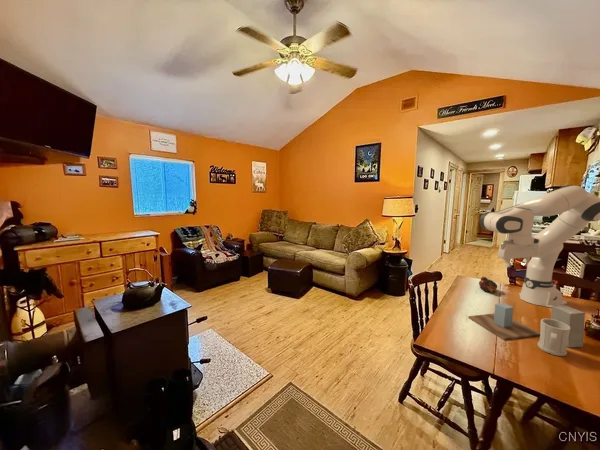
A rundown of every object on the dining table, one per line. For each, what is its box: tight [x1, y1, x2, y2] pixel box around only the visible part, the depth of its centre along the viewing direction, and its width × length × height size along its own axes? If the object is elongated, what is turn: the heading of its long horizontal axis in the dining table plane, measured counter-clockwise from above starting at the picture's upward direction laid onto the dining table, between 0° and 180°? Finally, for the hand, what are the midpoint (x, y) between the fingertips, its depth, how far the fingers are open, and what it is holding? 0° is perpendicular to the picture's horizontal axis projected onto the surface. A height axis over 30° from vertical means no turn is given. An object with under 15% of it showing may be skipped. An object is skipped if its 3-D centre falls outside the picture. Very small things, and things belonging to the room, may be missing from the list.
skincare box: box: [551, 304, 586, 348], centre depth 110 cm, size 8×7×16 cm
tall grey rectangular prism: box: [493, 302, 514, 328], centre depth 124 cm, size 5×5×10 cm
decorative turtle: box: [478, 276, 498, 294], centre depth 166 cm, size 10×15×8 cm, turn 174°
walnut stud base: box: [467, 313, 540, 341], centre depth 124 cm, size 20×20×7 cm
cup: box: [537, 318, 571, 357], centre depth 105 cm, size 10×9×12 cm
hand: (516, 265), depth 128 cm, fingers open, 8 cm apart
